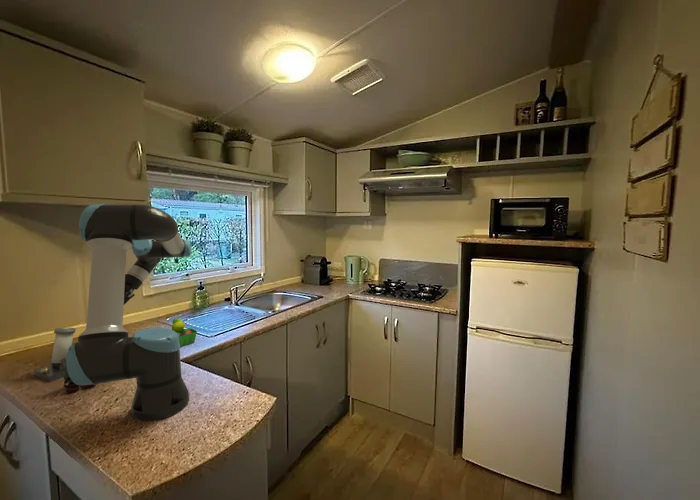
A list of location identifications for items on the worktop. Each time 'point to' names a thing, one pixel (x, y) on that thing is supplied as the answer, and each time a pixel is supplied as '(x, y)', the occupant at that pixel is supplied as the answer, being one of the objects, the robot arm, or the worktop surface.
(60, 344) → the grey lidded cylinder
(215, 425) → the worktop surface
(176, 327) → the fruit basket
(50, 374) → the tribrach base
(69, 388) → the binoculars
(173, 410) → the robot arm
